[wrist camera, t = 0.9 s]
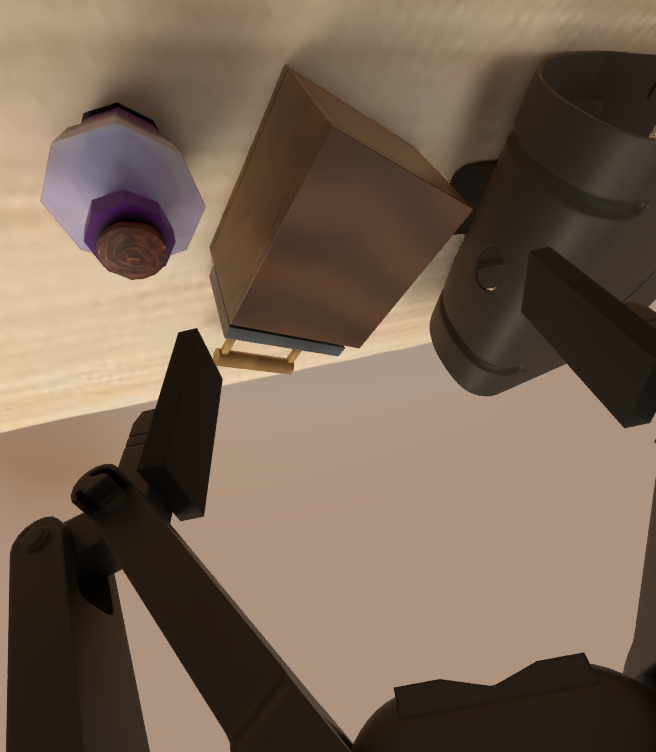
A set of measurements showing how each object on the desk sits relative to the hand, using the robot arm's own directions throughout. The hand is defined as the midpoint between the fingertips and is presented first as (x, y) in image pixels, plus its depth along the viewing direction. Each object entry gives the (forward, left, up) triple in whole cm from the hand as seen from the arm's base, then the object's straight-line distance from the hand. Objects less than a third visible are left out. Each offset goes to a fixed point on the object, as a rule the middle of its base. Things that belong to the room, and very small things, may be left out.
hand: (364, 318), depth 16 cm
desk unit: (+7, -4, -21) cm, 22 cm away
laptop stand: (+29, +5, -21) cm, 36 cm away
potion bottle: (-7, -6, -21) cm, 23 cm away
